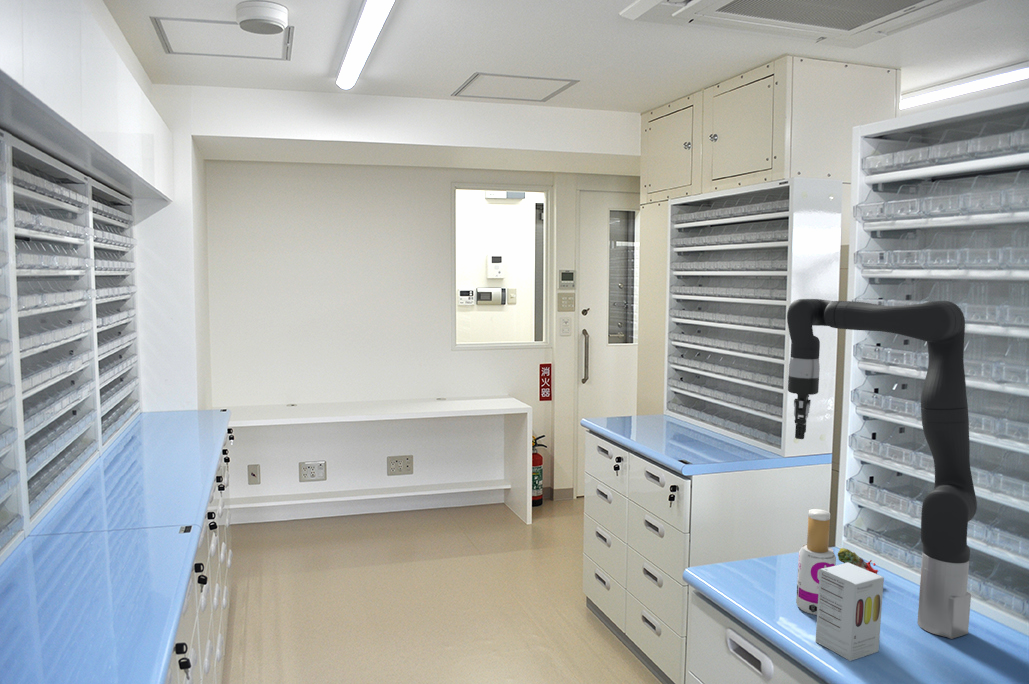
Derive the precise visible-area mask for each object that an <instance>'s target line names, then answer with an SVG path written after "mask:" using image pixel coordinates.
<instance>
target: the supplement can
mask: <svg viewBox="0 0 1029 684" xmlns="http://www.w3.org/2000/svg"><path fill="white" fill-rule="evenodd" d="M836 556H837V555H836V554H835V552H834V549H833V548H831V547H830V546H829V548H828V551H827V552H823V553H821V552H814V551H811V550H809V549H808V548H807V543H804V544H802V546H801V548H800V549H799V552H798V564H797V565H798V566H797V581H796V583H797V584H796V598H795V600H796V602H795V603H796V606H798V608H799V609H800V610H801V611H802V612H804V613H807V614H810V615H812V616H813V615H815V616H817V610H818V593H819V578H820V569H822V568H827V567H832V566H836V565H837V563H836V562H837V557H836Z"/></svg>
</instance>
